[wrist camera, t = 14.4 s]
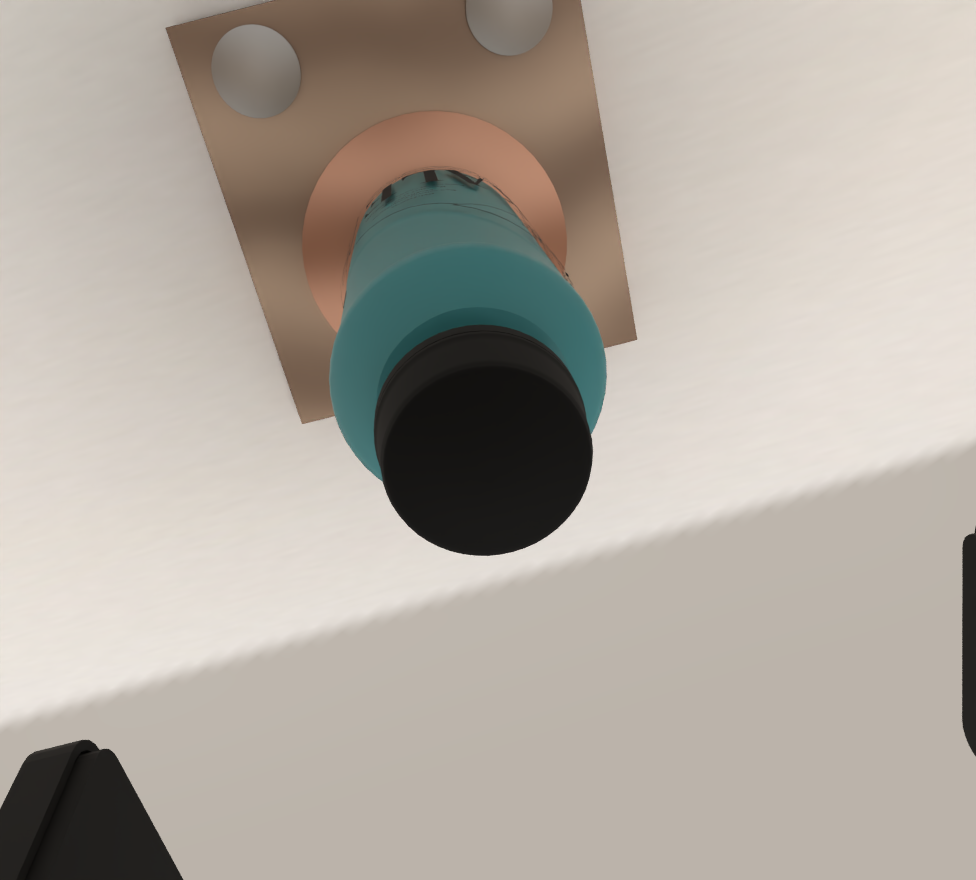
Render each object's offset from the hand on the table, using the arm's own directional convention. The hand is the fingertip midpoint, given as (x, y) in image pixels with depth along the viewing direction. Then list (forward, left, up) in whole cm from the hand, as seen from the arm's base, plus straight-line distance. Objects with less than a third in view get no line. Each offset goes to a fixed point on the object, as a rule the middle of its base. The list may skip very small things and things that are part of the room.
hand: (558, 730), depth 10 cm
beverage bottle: (0, 0, -27) cm, 27 cm away
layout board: (-2, 0, -28) cm, 28 cm away
